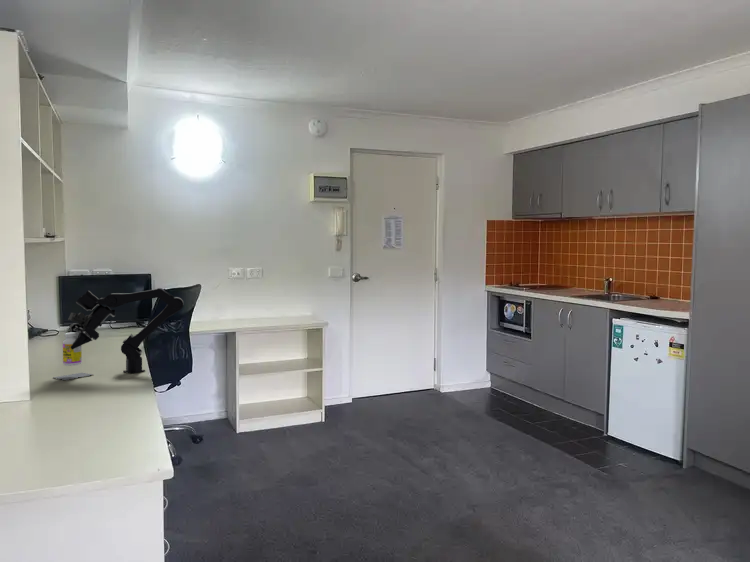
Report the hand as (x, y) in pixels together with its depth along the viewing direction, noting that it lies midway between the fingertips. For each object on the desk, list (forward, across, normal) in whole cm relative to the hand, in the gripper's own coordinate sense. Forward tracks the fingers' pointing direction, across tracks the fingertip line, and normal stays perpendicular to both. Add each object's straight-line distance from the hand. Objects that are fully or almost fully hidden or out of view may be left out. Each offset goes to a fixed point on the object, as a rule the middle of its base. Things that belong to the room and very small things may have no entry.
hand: (68, 347), depth 225 cm
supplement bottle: (+4, 0, +6) cm, 7 cm away
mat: (+7, 0, +10) cm, 12 cm away
